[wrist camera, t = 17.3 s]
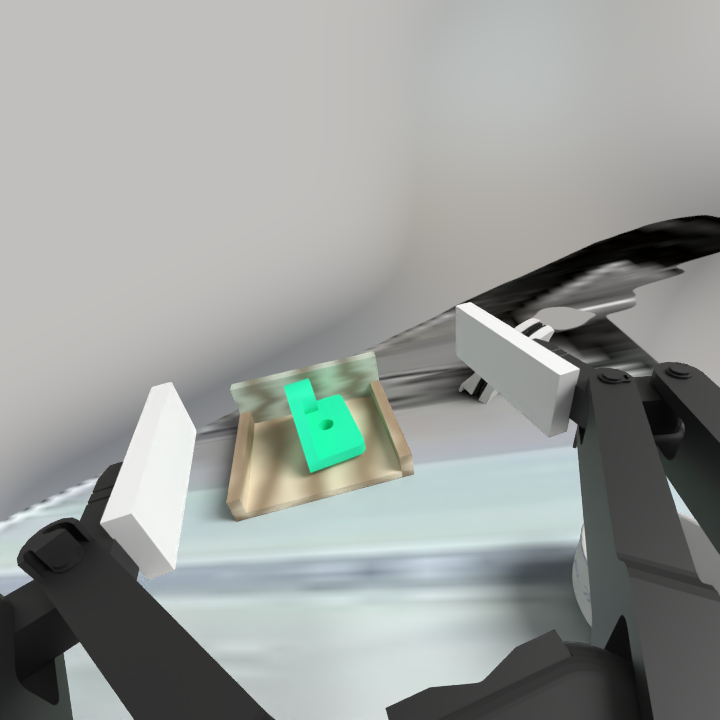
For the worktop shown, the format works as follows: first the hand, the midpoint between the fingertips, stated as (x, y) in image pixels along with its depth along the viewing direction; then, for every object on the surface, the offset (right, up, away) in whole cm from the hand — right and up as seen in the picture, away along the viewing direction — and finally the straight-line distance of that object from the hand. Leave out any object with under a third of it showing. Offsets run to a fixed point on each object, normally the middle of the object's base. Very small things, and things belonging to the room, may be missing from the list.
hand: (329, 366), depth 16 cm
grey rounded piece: (+26, -3, +42) cm, 49 cm away
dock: (-4, -12, +36) cm, 38 cm away
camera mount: (-3, -11, +34) cm, 36 cm away
